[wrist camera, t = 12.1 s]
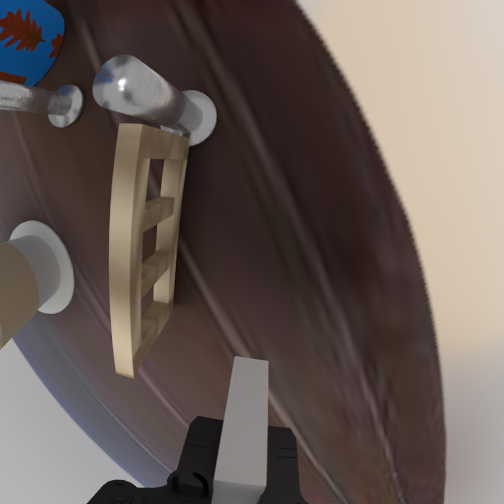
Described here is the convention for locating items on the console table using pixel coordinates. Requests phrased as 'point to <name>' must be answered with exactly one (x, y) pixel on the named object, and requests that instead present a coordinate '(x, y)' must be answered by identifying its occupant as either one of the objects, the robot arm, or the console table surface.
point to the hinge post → (154, 99)
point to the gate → (131, 239)
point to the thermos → (28, 40)
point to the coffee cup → (25, 281)
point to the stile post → (44, 101)
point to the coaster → (64, 260)
